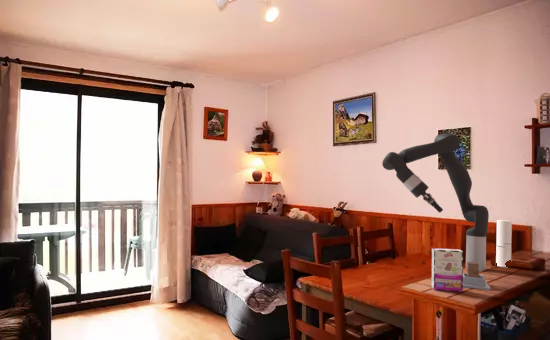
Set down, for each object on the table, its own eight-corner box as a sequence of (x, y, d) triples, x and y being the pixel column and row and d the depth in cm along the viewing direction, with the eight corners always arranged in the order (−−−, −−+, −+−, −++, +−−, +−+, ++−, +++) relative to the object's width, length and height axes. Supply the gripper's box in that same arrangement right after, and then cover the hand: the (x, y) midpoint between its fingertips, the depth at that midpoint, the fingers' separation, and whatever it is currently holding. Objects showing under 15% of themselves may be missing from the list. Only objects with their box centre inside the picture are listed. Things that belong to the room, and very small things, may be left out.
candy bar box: (459, 289, 160) (460, 249, 161) (463, 292, 155) (463, 251, 156) (430, 287, 162) (431, 247, 163) (433, 290, 157) (434, 249, 158)
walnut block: (466, 281, 171) (467, 261, 171) (476, 282, 169) (477, 262, 170) (467, 283, 167) (468, 263, 167) (478, 284, 165) (478, 264, 166)
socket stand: (456, 280, 176) (456, 271, 176) (485, 283, 172) (486, 274, 172) (458, 286, 165) (458, 277, 165) (490, 290, 160) (490, 280, 161)
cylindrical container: (513, 267, 211) (513, 221, 212) (498, 266, 212) (499, 220, 213) (508, 265, 218) (508, 220, 219) (494, 264, 219) (494, 219, 220)
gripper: (421, 179, 180) (448, 206, 176) (421, 180, 193) (446, 205, 189) (409, 191, 182) (435, 217, 177) (410, 190, 195) (434, 215, 191)
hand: (441, 210), depth 183 cm, fingers open, 8 cm apart
